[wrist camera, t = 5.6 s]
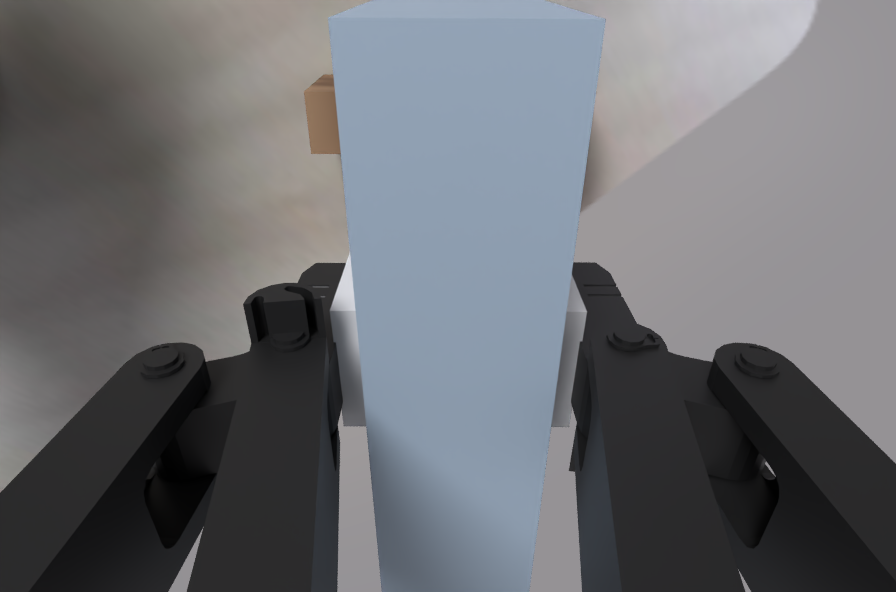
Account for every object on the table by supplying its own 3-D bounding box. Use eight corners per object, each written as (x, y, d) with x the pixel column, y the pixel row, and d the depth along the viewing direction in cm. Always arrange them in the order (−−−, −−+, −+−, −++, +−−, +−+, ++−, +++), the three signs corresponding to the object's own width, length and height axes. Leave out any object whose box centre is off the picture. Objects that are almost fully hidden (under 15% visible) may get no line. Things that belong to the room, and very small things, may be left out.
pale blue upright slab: (414, 327, 22) (385, 633, 12) (403, -12, 16) (327, 18, 6) (488, 327, 22) (523, 633, 12) (505, -12, 16) (605, 19, 6)
